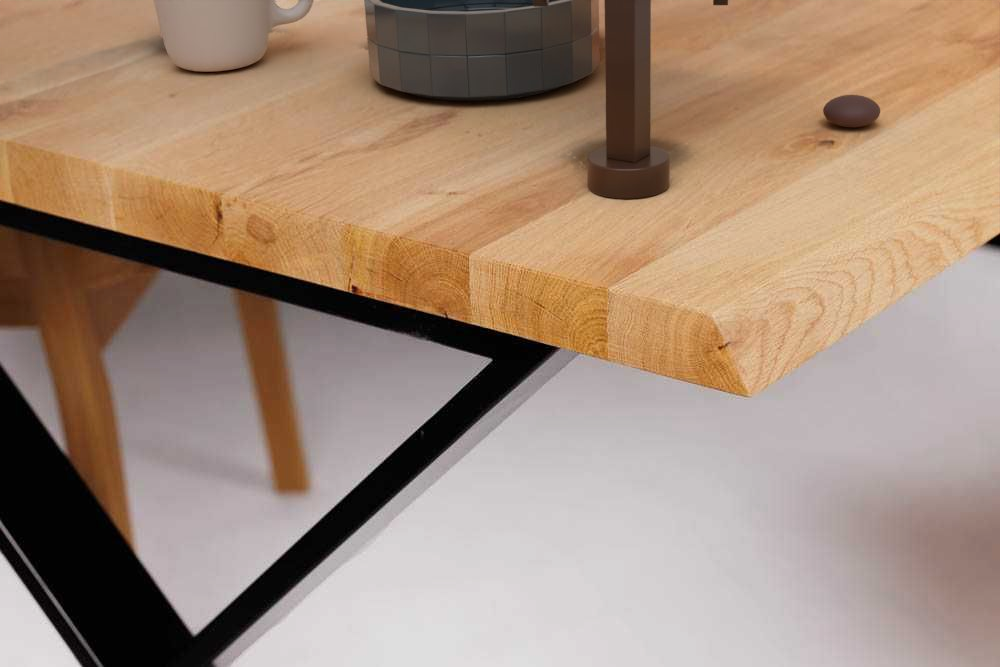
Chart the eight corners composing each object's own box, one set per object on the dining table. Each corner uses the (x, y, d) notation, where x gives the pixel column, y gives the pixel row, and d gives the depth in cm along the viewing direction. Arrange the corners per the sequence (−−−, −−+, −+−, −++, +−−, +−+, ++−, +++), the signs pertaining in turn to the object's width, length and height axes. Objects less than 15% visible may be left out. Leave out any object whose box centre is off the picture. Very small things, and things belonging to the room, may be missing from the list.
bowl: (518, 119, 81) (514, 22, 79) (325, 90, 89) (316, 0, 86) (639, 60, 92) (639, -27, 90) (457, 38, 99) (453, -43, 97)
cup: (309, 39, 101) (297, -78, 98) (332, 65, 94) (320, -60, 91) (153, 56, 98) (135, -63, 95) (165, 85, 91) (146, -43, 88)
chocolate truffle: (821, 132, 77) (823, 104, 76) (823, 116, 80) (824, 88, 79) (879, 134, 76) (881, 105, 76) (879, 117, 79) (881, 89, 78)
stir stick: (645, 204, 68) (645, -31, 64) (572, 191, 70) (567, -38, 66) (683, 179, 71) (686, -48, 67) (613, 167, 73) (611, -53, 69)
